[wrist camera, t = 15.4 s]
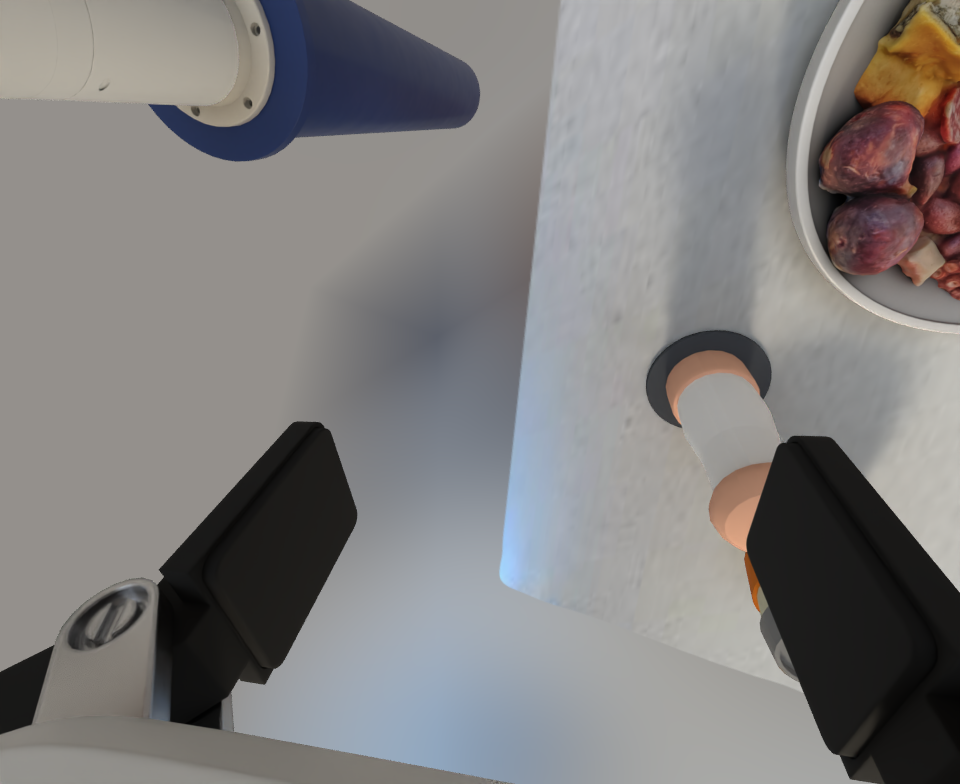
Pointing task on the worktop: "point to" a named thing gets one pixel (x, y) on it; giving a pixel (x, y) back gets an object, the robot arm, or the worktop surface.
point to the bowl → (883, 159)
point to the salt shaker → (725, 435)
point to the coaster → (702, 342)
